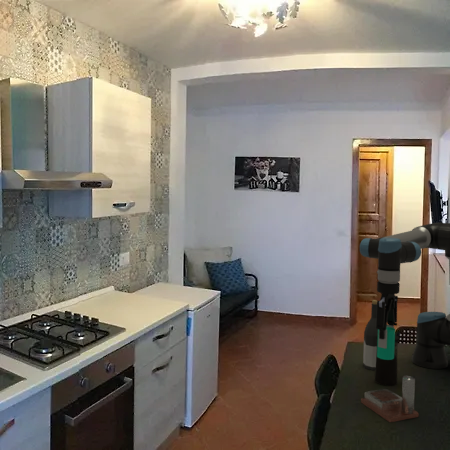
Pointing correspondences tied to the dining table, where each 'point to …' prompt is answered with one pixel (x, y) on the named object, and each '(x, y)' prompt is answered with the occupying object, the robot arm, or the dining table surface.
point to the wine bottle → (370, 340)
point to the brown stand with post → (393, 401)
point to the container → (387, 368)
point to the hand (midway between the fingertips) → (386, 345)
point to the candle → (389, 351)
